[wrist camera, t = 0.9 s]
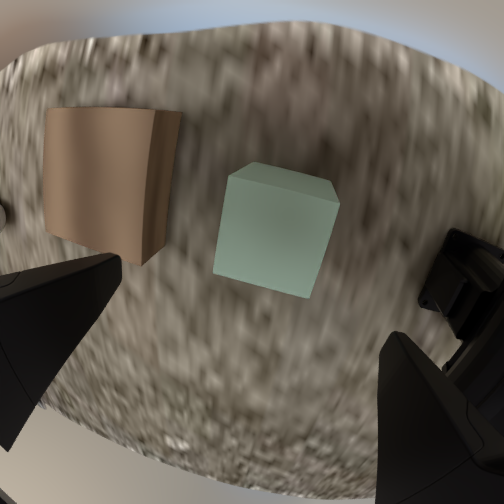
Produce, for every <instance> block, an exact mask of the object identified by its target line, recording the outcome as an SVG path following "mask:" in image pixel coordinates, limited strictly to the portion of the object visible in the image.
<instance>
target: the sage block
mask: <svg viewBox="0 0 504 504" xmlns="http://www.w3.org/2000/svg"><path fill="white" fill-rule="evenodd" d="M339 206H340V202H339V200H338V197H337V195H336V192H335V190H334V188H333V185H332V183H331V181H329V180H326V179H322V178H319V177H315V176H311V175H307V174H304V173H300V172H296V171H292V170H288V169H284V168H280V167H275V166H271V165H267V164H263V163H258V162H252V163H250V164H248V165H247V166H245V167H243V168H241V169H239V170H238V171H236V172H234V173H232V174H231V175H229V176H228V181H227V187H226V193H225V199H224V205H223V210H222V216H221V223H220V229H219V235H218V241H217V248H216V254H215V261H214V267H213V273H214V274H218V275H221V276H225V277H229V278H232V279H236V280H239V281H243V282H247V283H250V284H254V285H258V286H261V287H265V288H269V289H272V290H276V291H280V292H284V293H288V294H291V295H295V296H299V297H303V298H307V299H309V297H310V295H311V292H312V289H313V286H314V283H315V281H316V278H317V275H318V272H319V269H320V266H321V263H322V260H323V257H324V254H325V251H326V248H327V245H328V242H329V239H330V236H331V232H332V229H333V226H334V223H335V219H336V216H337V213H338V210H339Z"/></svg>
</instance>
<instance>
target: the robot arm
mask: <svg viewBox="0 0 504 504" xmlns="http://www.w3.org/2000/svg"><path fill="white" fill-rule="evenodd" d="M455 233H456V236H455V238H453V235H454V234H455ZM501 254H502V256H501ZM500 256H501V257H500ZM503 263H504V250H503V249H502V248H499V247H497V246H495V245H493V244H491V243H489V242H486V241H484V240H482V239H480V238H477V237H475V236H473V235H470V234H468V233H466V232H463V231H461V230H458V229H456V228H452V229H451V230H450V231H449V232H448V235H447V237H446V240H445V242H444V245H443V247H442V249H441V252H440V254H439V255H438V256H437V258H436V261H435V263H434V265H433V267H432V270H431V272H430V274H429V276H428V278H427V280H426V282H425V287H424V289H423V291H422V293H421V295H420V297H419V299H418V303H419V305H420V307H421V308H425V309H429V310H433V311H437V312H441V314H442V316H443V317H444V318H446V320H447V322H448V324H449V326H450V327H451V329H452V331H453V333H454V335H455V337H456V338H457V339H460V341H461V343H462V345H461V346H460V347H459V349H458V350H457V351H456V353H455V354H454V355H453V356H452V358H451V359H450V360H449V361H447V362H446V363H445V364H444V366H443V367H442V371H441V370H440V369H439V368H438V367H437V366H436V365H435V364H434V363H433V362H432V360H431V359H430V358H429V357H428V356H427V355H426V354H425V353H424V352H423V351H422V350H421V349H420V348H419V347H418V346H417V345H416V344H415V343H414V342H413V341H412V340H411V339H410V338H409V337H408V336H407V335H406V334H405V333H402V332H398V331H393V332H392V333H391V334H390V335H389V337H388V339H387V340H386V342H385V344H384V345H383V347H382V349H381V351H380V354H379V373H378V391H377V406H378V464H377V484H376V497H375V504H504V265H503ZM121 280H122V261H121V257H120V256H119V255H117V254H114V253H111V252H108V253H103V254H98V255H93V256H89V257H84V258H79V259H74V260H69V261H65V262H60V263H55V264H51V265H46V266H42V267H37V268H33V269H28V270H24V271H22V272H20V271H19V272H15V273H10V274H6V275H1V276H0V445H1V446H2V447H3V448H4V449H5V450H6V451H7V452H8V451H9V450H10V449H11V447H12V445H13V443H14V442H15V440H16V438H17V436H18V435H19V433H20V431H21V430H22V428H23V426H24V424H25V423H26V421H27V420H28V418H29V416H30V415H31V413H32V412H33V410H34V408H35V406H36V405H37V403H38V402H39V400H40V399H41V397H42V396H43V394H44V393H45V391H46V390H47V388H48V387H49V385H50V384H51V382H52V381H53V379H54V378H55V376H56V375H57V373H58V372H59V370H60V369H61V368H62V366H63V365H64V363H65V362H66V360H67V359H68V358H69V356H70V355H71V353H72V352H73V351H74V349H75V348H76V347H77V345H78V344H79V343H80V341H81V340H82V338H83V337H84V336H85V334H86V333H87V332H88V331H89V329H90V328H91V327H92V325H93V324H94V323H95V321H96V320H97V319H98V317H99V316H100V314H101V313H102V311H103V310H104V308H105V307H106V305H107V304H108V302H109V300H110V299H111V297H112V296H113V294H114V293H115V291H116V289H117V288H118V286H119V285H120V283H121ZM424 300H426V301H425V302H423V301H424ZM422 302H423V303H422ZM0 504H17V503H15V502H14V501H13V500H12V499H11V498H10V497H9V496H8V495H7V494H6V493H5V492H4V491H3V490H2V489H1V488H0Z"/></svg>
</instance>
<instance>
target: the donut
mask: <svg viewBox="0 0 504 504" xmlns="http://www.w3.org/2000/svg"><path fill="white" fill-rule="evenodd" d="M5 222H6V215H5V211H4V208H3V207H2V206H1V205H0V233H1V232H2V230H3V228H4V226H5Z"/></svg>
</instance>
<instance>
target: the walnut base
mask: <svg viewBox="0 0 504 504" xmlns="http://www.w3.org/2000/svg"><path fill="white" fill-rule="evenodd" d="M181 115H182V112H175V111H165V110H153V109H140V108H121V107H64V108H48V109H47V113H46V123H45V135H44V153H43V195H44V214H45V227H46V232H48V233H51V234H53V235H56V236H58V237H61V238H63V239H66V240H69V241H71V242H74V243H77V244H79V245H82V246H85V247H88V248H90V249H93V250H96V251H99V252H101V253H108V252H111V253H114V254H117V255H119V256H120V257H121V260H124V261H127V262H130V263H133V264H136V265H139V266H142V265H143V264H144V263H146V262H147V261H148V260H149V259H150V258H151V257H152V256H153V255H155V254H156V253H157V252H158V251H159V250H160V249H162V248H163V247H164V246H165V240H166V228H167V217H168V207H169V197H170V189H171V180H172V173H173V165H174V158H175V151H176V145H177V138H178V132H179V126H180V120H181Z"/></svg>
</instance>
